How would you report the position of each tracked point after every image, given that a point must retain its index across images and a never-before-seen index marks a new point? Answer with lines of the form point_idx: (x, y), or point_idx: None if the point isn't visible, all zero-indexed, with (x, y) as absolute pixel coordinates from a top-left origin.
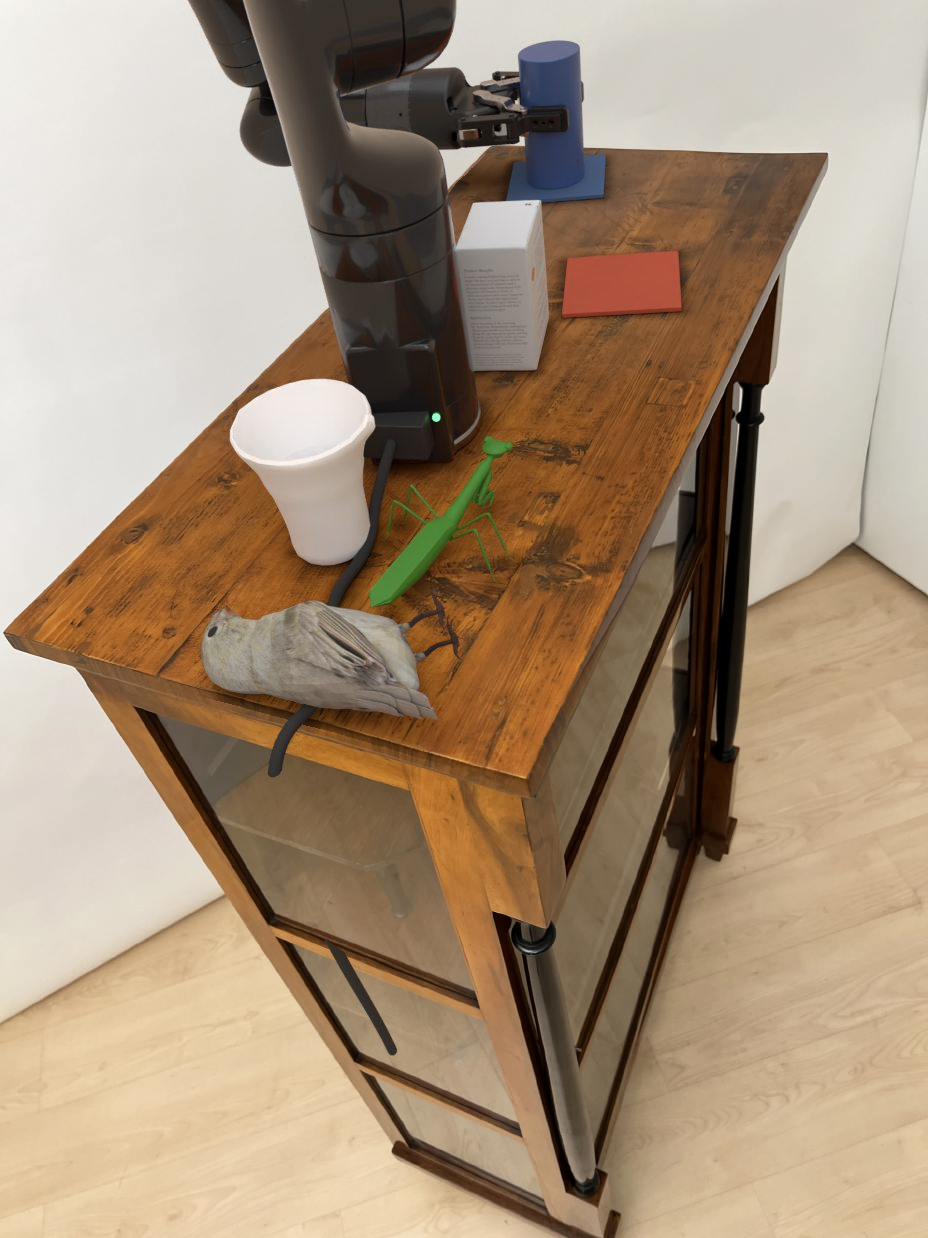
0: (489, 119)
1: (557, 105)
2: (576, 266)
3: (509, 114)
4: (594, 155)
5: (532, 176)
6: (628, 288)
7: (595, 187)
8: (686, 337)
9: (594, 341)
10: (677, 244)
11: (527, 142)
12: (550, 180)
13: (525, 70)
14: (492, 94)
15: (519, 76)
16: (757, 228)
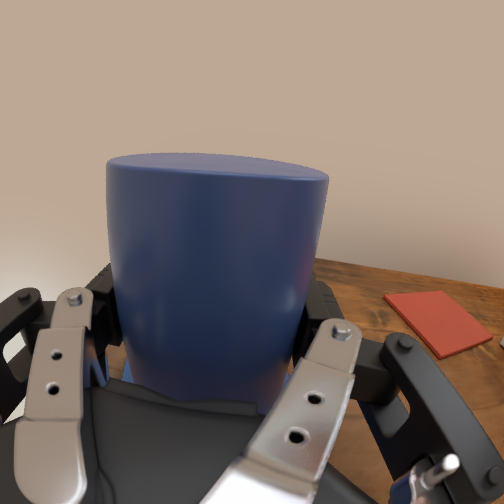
0: (454, 393)
1: None
2: (447, 345)
3: (410, 345)
4: (126, 365)
5: None
6: (446, 312)
7: None
8: (456, 290)
9: (491, 320)
10: (367, 299)
11: None
12: None
13: (314, 217)
14: (130, 470)
15: (249, 270)
16: (323, 267)
